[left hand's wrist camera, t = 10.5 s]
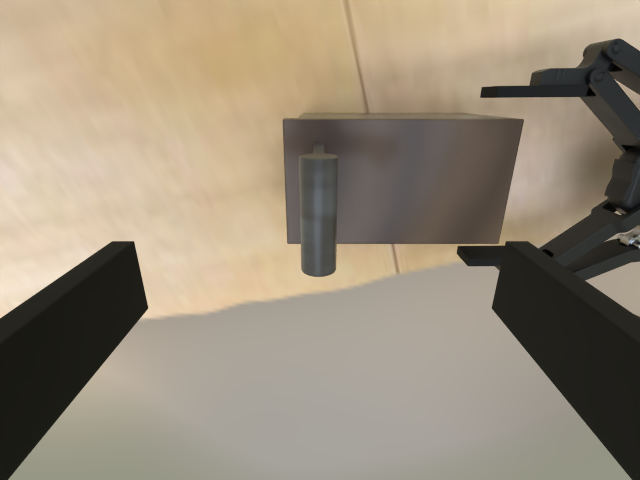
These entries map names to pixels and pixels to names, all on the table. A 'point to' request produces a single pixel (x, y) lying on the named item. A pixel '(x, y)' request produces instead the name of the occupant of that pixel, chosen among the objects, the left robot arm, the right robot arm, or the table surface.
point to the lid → (395, 182)
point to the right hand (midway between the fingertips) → (473, 181)
